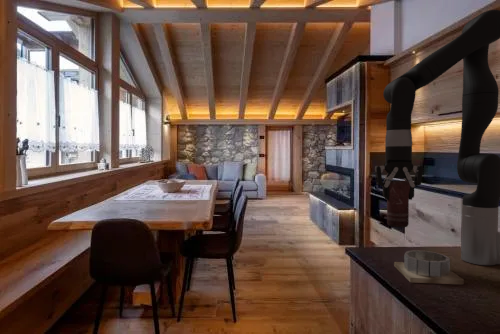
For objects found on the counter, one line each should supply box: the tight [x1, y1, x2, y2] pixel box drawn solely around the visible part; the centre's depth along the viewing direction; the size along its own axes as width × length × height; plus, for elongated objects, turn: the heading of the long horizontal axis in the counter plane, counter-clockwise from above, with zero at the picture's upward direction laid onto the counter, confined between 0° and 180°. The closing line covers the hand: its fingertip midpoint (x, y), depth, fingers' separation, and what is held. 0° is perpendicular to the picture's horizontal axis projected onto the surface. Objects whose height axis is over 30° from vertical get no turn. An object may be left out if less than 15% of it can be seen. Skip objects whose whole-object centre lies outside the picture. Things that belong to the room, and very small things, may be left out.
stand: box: [393, 261, 465, 285], centre depth 94 cm, size 13×13×1 cm
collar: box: [403, 249, 451, 277], centre depth 94 cm, size 11×11×4 cm
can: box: [386, 179, 410, 228], centre depth 105 cm, size 6×6×14 cm
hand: (398, 199), depth 105 cm, fingers closed on can, 6 cm apart
